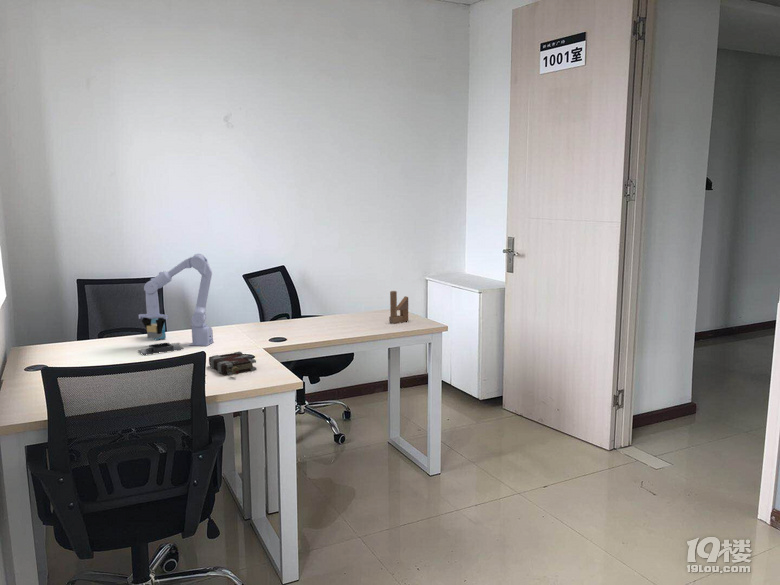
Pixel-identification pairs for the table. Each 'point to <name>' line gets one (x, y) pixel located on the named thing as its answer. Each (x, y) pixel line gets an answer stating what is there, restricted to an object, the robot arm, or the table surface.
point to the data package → (162, 329)
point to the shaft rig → (160, 348)
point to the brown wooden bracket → (398, 308)
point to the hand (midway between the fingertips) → (154, 333)
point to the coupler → (153, 331)
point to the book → (232, 363)
